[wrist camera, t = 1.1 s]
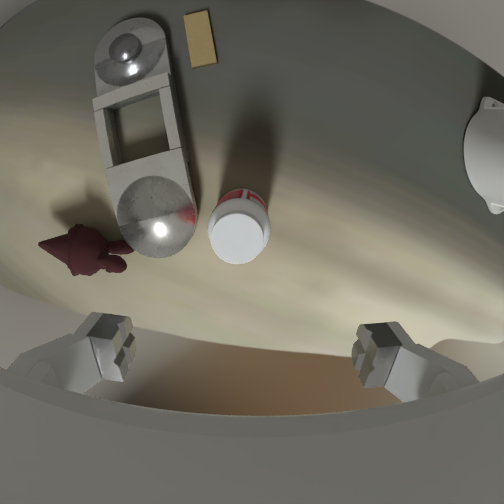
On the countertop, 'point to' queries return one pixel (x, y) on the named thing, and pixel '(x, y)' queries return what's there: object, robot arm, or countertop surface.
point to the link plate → (200, 39)
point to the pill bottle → (239, 226)
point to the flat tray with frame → (152, 167)
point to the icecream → (87, 251)
